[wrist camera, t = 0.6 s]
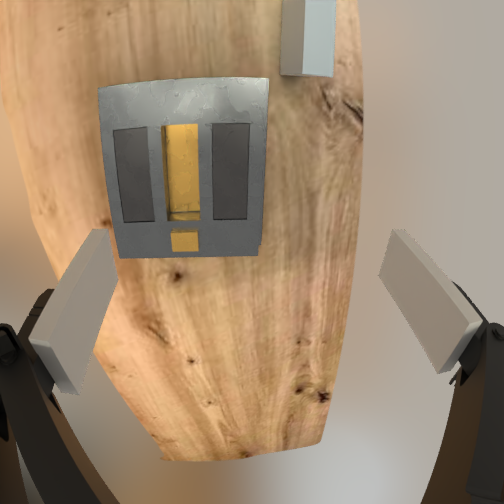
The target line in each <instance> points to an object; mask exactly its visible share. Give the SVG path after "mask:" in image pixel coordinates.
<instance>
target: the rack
mask: <svg viewBox="0 0 504 504" xmlns="http://www.w3.org/2000/svg"><path fill="white" fill-rule="evenodd" d="M268 90H269V78H251V77H205V78H182V79H167V80H155V81H145V82H136V83H128V84H120V85H113V86H107V87H101V88H98V101H99V117H100V131H101V142H102V152H103V161H104V169H105V177H106V184H107V191H108V198H109V204H110V210H111V216H112V222H113V228H114V233H115V238H116V243H117V248H118V253H119V258H120V259H122V258H175V257H224V256H258V246H259V245H261V237H262V218H263V198H264V178H265V157H266V135H267V113H268Z"/></svg>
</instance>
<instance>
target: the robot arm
mask: <svg viewBox="0 0 504 504" xmlns="http://www.w3.org/2000/svg"><path fill="white" fill-rule="evenodd" d="M379 277H380V279H381V280H382V282H383V283H384V285H385V287H386V288H387V290H388V291H389V293H390V294H391V296H392V297H393V299H394V301H395V302H396V304H397V305H398V307H399V309H400V310H401V312H402V313H403V315H404V317H405V318H406V320H407V322H408V323H409V325H410V327H411V328H412V330H413V332H414V333H415V335H416V337H417V339H418V340H419V342H420V344H421V345H422V347H423V348H424V351H425V352H426V354H427V356H428V358H429V360H430V361H431V363H432V365H433V367H434V368H435V370H436V372H437V374H440V373H443V372H447V371H450V370H451V369H452V368H453V367H454V365H455V364H456V362H457V361H459V362H460V364H461V367H460V368H459V370H458V371H457V372H456V374H455V375H454V377H453V378H452V379H451V381H450V383H449V384H450V385H451V384H452V383H453V381H454V380H456V384H455V385H454V386H455V389H454V394H453V399H452V404H451V408H450V413H449V417H448V421H447V425H446V429H445V433H444V437H443V440H442V444H441V447H440V451H439V454H438V457H437V460H436V463H435V466H434V469H433V473H432V475H431V478H430V481H429V483H428V486H427V489H426V492H425V494H424V497H423V499H422V502H421V504H504V327H503V326H502V325H500V324H498V323H490V324H489V322H488V321H487V320H486V318H485V317H484V316H483V315H482V313H481V312H480V311H479V309H478V308H477V307H476V306H475V304H474V303H472V301H471V300H470V298H469V297H467V295H466V293H465V292H464V291H463V290H462V289H461V287H459V286H458V285H457V284H455V283H454V282H452V281H451V280H450V279H449V278H448V277H447V275H446V274H445V273H444V272H443V271H442V270H441V268H439V266H438V265H437V264H436V263H435V262H434V261H433V259H432V258H431V257H430V256H429V255H428V254H427V253H426V252H425V251H424V250H423V249H422V247H421V246H420V245H419V244H418V243H417V242H416V241H415V240H414V239H413V238H412V237H411V236H410V235H409V234H408V233H407V232H406V230H396V229H393V230H392V232H391V236H390V239H389V243H388V246H387V250H386V253H385V257H384V260H383V263H382V266H381V269H380V273H379ZM117 282H118V276H117V271H116V267H115V262H114V257H113V252H112V247H111V242H110V237H109V232H108V229H92V231H91V232H90V234H89V235H88V237H87V238H86V240H85V241H84V243H83V244H82V246H81V247H80V249H79V250H78V252H77V254H76V255H75V257H74V258H73V260H72V261H71V263H70V265H69V266H68V268H67V269H66V271H65V273H64V274H63V276H62V278H61V279H60V281H59V283H58V285H57V286H56V288H55V289H47V290H46V291H45V292H44V293H42V294H41V295H40V296H39V297H38V299H37V301H36V302H35V304H34V306H33V308H32V309H31V311H30V313H29V316H27V318H26V320H25V322H24V324H23V325H22V327H21V329H20V331H19V333H18V335H16V333H15V331H14V330H13V328H12V326H11V325H8V324H3V323H1V324H0V504H28V499H27V496H26V492H25V488H24V483H23V479H22V474H21V469H20V464H19V459H18V453H17V446H16V442H17V445H18V447H19V450H20V452H21V455H22V457H23V459H24V462H25V464H26V467H27V469H28V471H29V473H30V475H31V478H32V480H33V482H34V484H35V486H36V488H37V490H38V492H39V494H40V496H41V498H42V499H43V501H44V503H45V504H120V503H119V502H118V501H117V499H116V498H115V496H114V495H113V494H112V492H111V491H110V490H109V489H108V487H107V485H106V484H105V482H104V481H103V479H102V478H101V477H100V475H99V474H98V472H97V470H96V469H95V467H94V466H93V464H92V463H91V461H90V460H89V458H88V456H87V455H86V453H85V452H84V450H83V448H82V446H81V445H80V443H79V441H78V439H77V438H76V436H75V434H74V433H73V430H72V429H71V427H70V425H69V423H68V421H67V419H66V418H65V415H64V413H63V411H62V409H61V407H60V406H59V403H58V401H57V399H56V397H55V395H54V394H53V393H52V389H53V386H54V383H56V385H57V387H58V388H59V390H60V391H61V392H63V393H69V394H76V395H79V394H80V391H81V388H82V384H83V381H84V377H85V374H86V370H87V367H88V364H89V361H90V357H91V354H92V351H93V348H94V345H95V342H96V339H97V336H98V333H99V330H100V327H101V324H102V322H103V319H104V316H105V313H106V311H107V308H108V305H109V302H110V300H111V297H112V295H113V292H114V289H115V287H116V284H117Z"/></svg>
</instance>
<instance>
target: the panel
mask: <svg viewBox="0 0 504 504" xmlns="http://www.w3.org/2000/svg"><path fill="white" fill-rule="evenodd" d="M335 27H336V0H283V1H282V29H281V55H280V75H290V76H301V77H333V68H334V50H335Z"/></svg>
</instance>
